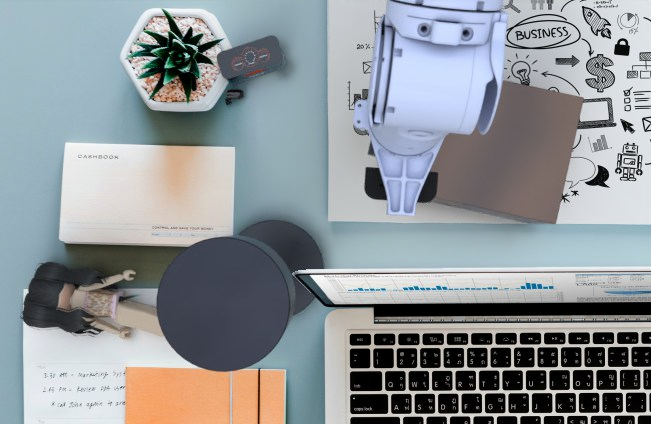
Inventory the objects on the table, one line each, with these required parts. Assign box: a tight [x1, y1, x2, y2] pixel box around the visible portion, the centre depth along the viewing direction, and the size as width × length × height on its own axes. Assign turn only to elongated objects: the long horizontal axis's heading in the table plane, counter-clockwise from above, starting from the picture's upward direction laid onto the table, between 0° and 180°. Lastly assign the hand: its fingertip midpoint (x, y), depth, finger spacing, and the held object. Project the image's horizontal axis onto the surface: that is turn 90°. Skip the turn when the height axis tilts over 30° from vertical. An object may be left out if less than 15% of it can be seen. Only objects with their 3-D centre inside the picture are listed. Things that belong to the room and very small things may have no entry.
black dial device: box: [216, 34, 286, 106], centre depth 65 cm, size 5×7×3 cm, turn 108°
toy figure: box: [19, 261, 165, 340], centre depth 64 cm, size 7×6×15 cm
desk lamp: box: [155, 219, 325, 373], centre depth 52 cm, size 10×10×28 cm
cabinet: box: [429, 79, 585, 225], centre depth 61 cm, size 13×12×8 cm
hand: (398, 133), depth 56 cm, fingers open, 7 cm apart
